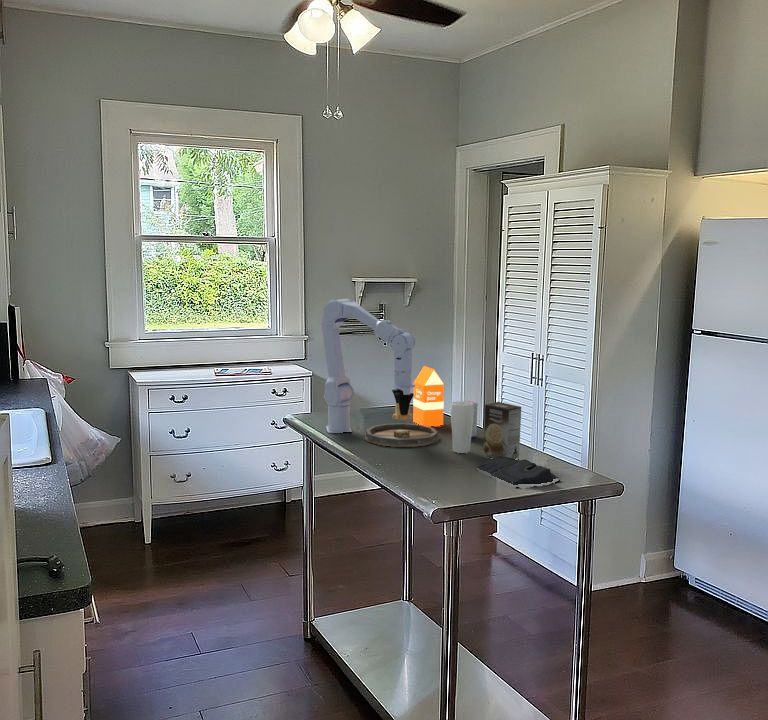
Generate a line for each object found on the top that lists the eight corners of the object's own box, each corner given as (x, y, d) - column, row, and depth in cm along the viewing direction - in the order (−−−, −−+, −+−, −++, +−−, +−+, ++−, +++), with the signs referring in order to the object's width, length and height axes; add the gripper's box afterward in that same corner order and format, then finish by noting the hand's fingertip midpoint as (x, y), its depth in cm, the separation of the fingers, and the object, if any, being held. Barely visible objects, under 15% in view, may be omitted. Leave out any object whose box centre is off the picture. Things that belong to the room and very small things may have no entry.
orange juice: (423, 427, 269) (424, 369, 266) (412, 422, 277) (413, 366, 274) (443, 425, 272) (444, 368, 269) (432, 420, 280) (433, 365, 277)
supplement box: (477, 437, 255) (478, 403, 253) (461, 439, 252) (462, 404, 251) (467, 434, 260) (468, 400, 258) (452, 435, 257) (453, 401, 256)
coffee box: (482, 457, 230) (483, 404, 228) (496, 454, 235) (497, 401, 232) (506, 464, 224) (508, 408, 221) (520, 460, 228) (522, 406, 226)
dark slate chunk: (515, 464, 225) (515, 448, 225) (565, 484, 206) (566, 467, 205) (470, 470, 218) (470, 454, 218) (518, 492, 199) (518, 474, 198)
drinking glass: (476, 454, 234) (477, 404, 232) (454, 455, 232) (456, 405, 230) (467, 448, 241) (468, 400, 239) (446, 449, 239) (447, 401, 237)
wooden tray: (360, 430, 263) (360, 423, 262) (430, 429, 266) (430, 421, 266) (369, 448, 239) (369, 440, 239) (446, 446, 243) (446, 438, 243)
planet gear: (391, 416, 253) (391, 402, 252) (410, 415, 254) (410, 401, 253) (394, 420, 247) (394, 406, 246) (414, 419, 248) (414, 405, 247)
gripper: (419, 374, 242) (419, 417, 243) (410, 367, 256) (410, 408, 258) (397, 374, 241) (397, 418, 242) (389, 367, 255) (389, 408, 257)
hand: (402, 413), depth 250 cm, fingers closed on planet gear, 4 cm apart
